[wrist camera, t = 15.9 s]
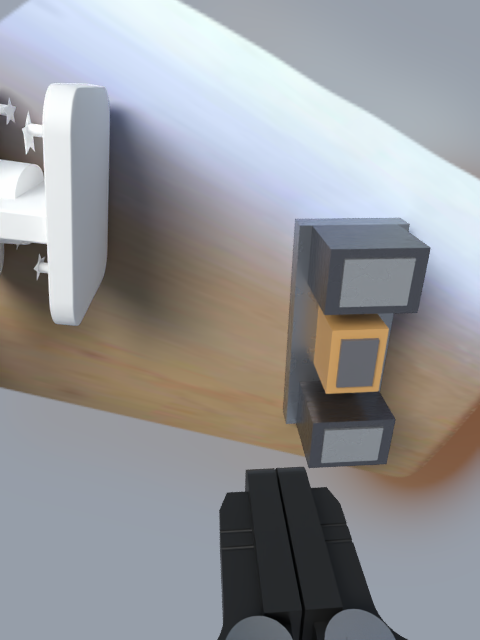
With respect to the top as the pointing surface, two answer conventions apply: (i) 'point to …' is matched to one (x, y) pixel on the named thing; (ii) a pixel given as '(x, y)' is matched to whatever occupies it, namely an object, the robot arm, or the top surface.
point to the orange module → (350, 352)
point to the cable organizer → (62, 195)
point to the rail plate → (340, 299)
